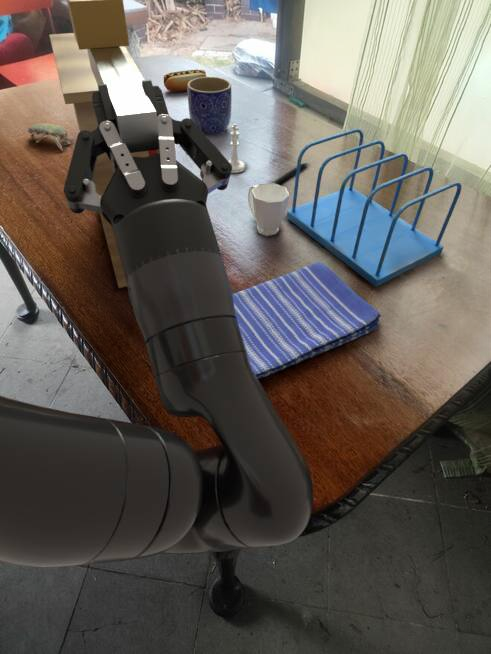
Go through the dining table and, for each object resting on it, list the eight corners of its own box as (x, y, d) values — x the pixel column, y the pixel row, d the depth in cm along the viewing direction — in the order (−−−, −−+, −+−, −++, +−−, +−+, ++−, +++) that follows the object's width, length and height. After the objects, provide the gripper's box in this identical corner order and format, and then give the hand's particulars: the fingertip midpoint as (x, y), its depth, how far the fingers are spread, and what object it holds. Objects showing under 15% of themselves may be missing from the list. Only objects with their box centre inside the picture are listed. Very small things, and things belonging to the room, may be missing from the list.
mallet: (172, 147, 37) (163, 51, 32) (111, 156, 36) (91, 57, 31) (126, 63, 52) (114, -12, 47) (81, 67, 51) (64, -10, 45)
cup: (264, 244, 85) (266, 206, 79) (234, 219, 91) (234, 182, 85) (293, 232, 88) (297, 195, 82) (262, 208, 93) (265, 172, 88)
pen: (307, 160, 106) (303, 161, 107) (267, 186, 97) (263, 187, 98) (309, 165, 106) (305, 166, 107) (269, 191, 98) (265, 192, 99)
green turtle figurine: (34, 152, 106) (30, 129, 103) (29, 142, 114) (25, 120, 111) (73, 151, 110) (70, 129, 107) (66, 141, 117) (63, 120, 115)
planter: (205, 142, 114) (203, 95, 105) (181, 127, 119) (178, 82, 111) (239, 131, 118) (240, 86, 110) (215, 118, 124) (214, 73, 116)
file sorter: (285, 218, 91) (293, 143, 80) (348, 194, 98) (363, 122, 87) (375, 288, 77) (400, 209, 66) (441, 254, 84) (473, 178, 73)
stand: (172, 279, 78) (148, 85, 55) (113, 291, 75) (62, 93, 53) (143, 204, 94) (115, 29, 71) (94, 212, 91) (49, 34, 69)
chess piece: (232, 160, 108) (232, 117, 100) (249, 166, 106) (250, 123, 98) (219, 168, 105) (218, 124, 97) (236, 175, 103) (237, 131, 96)
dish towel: (383, 328, 71) (387, 315, 69) (252, 387, 62) (253, 375, 60) (319, 266, 81) (321, 254, 79) (198, 310, 73) (197, 297, 71)
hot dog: (209, 89, 138) (209, 72, 135) (168, 95, 134) (166, 77, 131) (203, 84, 141) (202, 66, 138) (162, 90, 137) (160, 72, 134)
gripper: (273, 238, 33) (209, 44, 36) (73, 278, 29) (23, 59, 33) (252, 275, 40) (200, 111, 43) (89, 311, 36) (47, 129, 40)
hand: (124, 90), depth 38 cm, fingers closed on mallet, 3 cm apart
